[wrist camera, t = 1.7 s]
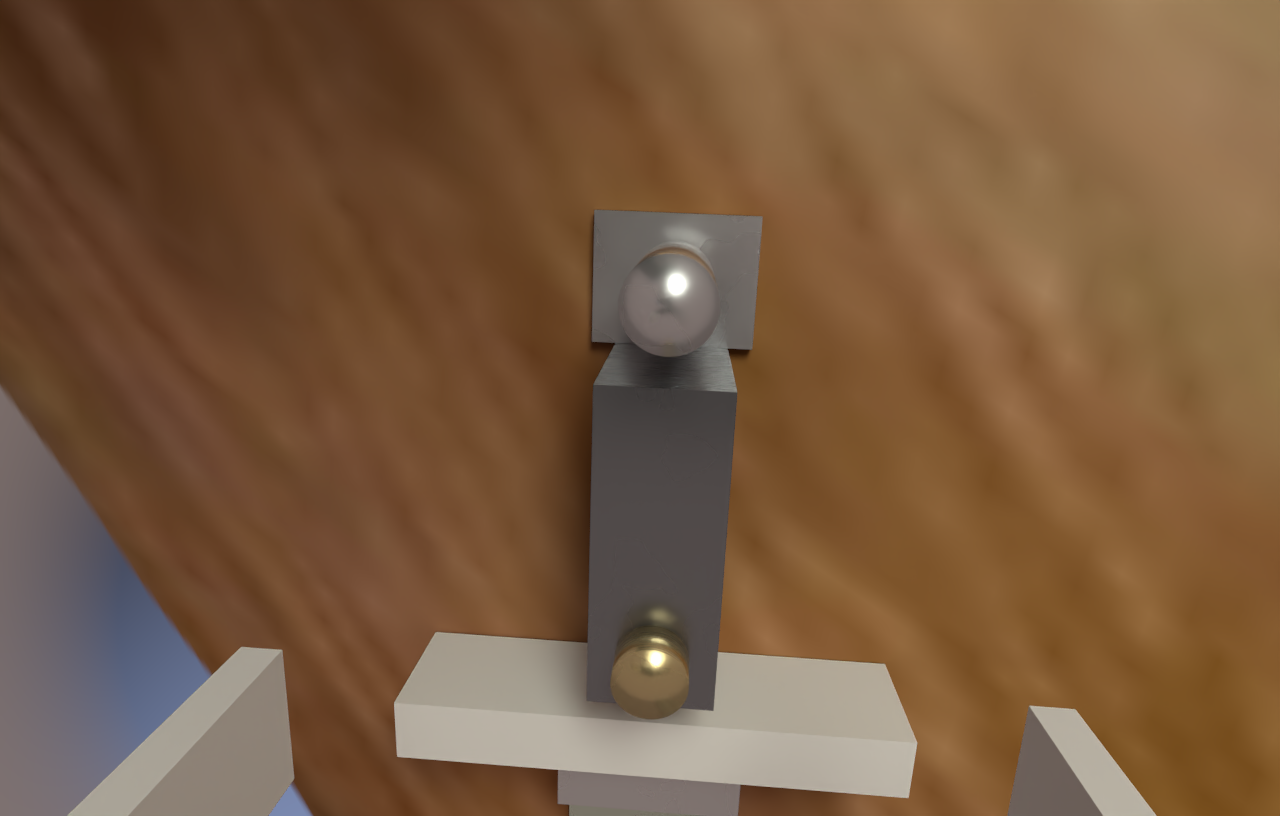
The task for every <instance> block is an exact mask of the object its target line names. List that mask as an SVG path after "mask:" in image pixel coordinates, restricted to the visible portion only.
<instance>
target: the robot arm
mask: <svg viewBox="0 0 1280 816" xmlns="http://www.w3.org/2000/svg"><path fill="white" fill-rule="evenodd" d="M293 780H294V770H293V759H292V749H291V738H290V727H289V716H288V706H287V695H286V684H285V673H284V662H283V652H282V650H276V649H262V648H249V647H241V648H240V649H239V650H238V651H237V652H236V653H234V654H233V655H232V656H231V657H230V658H229V659H228V660H227V661H226V662H225V663H224V664H223V665H222V666H221V667H220V668H219V669H218V670H217V671H216V672H215V673H214V674H213V675H212V676H211V677H210V678H209V679H208V680H207V681H206V682H205V683H204V684H203V685H201V686H200V687H199V688H198V689H197V690H196V691H195V692H194V693H193V694H192V695H191V696H190V697H189V698H188V699H187V700H186V701H185V702H184V703H183V704H182V705H181V706H180V707H179V708H178V709H177V710H176V711H175V712H174V713H173V714H172V715H170V716H169V717H168V719H167V720H165V721H164V722H163V723H162V724H161V725H160V726H159V727H158V728H157V729H156V730H155V731H154V732H153V733H152V734H151V735H150V736H149V737H148V738H147V739H146V740H145V741H144V742H143V743H142V744H141V745H140V746H138V747H137V749H135V750H134V751H133V752H132V753H131V754H130V755H129V756H128V757H127V758H126V759H125V760H124V761H123V762H122V763H121V764H120V765H119V766H118V767H117V768H116V769H115V770H114V771H113V772H112V773H111V774H110V775H109V776H108V777H107V778H105V779H104V780H103V781H102V782H101V783H100V784H99V785H98V786H97V787H96V788H95V789H94V790H93V791H92V792H91V793H90V794H89V795H88V796H87V797H86V798H85V799H84V800H83V801H82V802H81V803H80V804H79V805H78V806H77V807H76V808H75V809H74V810H72V811H71V812H70V813H69V814H68V816H268V815H269V814H270V813H271V811H272V810H273V808H274V807H275V805H276V804H277V803H278V801H279V800H280V798H281V797H282V795H283V794H284V793H285V791H286V790H287V788H288V787H289V785H290V784H291V783H292V781H293ZM1008 816H1156V815H1155V813H1154V812H1153V811H1152V809H1151V808H1150V807H1149V805H1148V804H1147V803H1146V801H1145V800H1144V799H1143V798H1142V796H1141V795H1140V794H1139V792H1138V791H1137V790H1136V788H1135V787H1134V786H1133V784H1132V783H1131V782H1130V780H1129V779H1128V778H1127V777H1126V775H1125V774H1124V773H1123V771H1122V770H1121V769H1120V767H1119V766H1118V765H1117V763H1116V762H1115V761H1114V759H1113V758H1112V757H1111V756H1110V754H1109V753H1108V752H1107V750H1106V749H1105V748H1104V746H1103V745H1102V744H1101V742H1100V741H1099V740H1098V738H1097V737H1096V736H1095V735H1094V733H1093V732H1092V731H1091V729H1090V728H1089V727H1088V725H1087V724H1086V723H1085V721H1084V720H1083V719H1082V717H1081V716H1080V715H1079V713H1078V712H1077V711H1076V710H1075V709H1065V708H1052V707H1038V706H1029V709H1028V714H1027V719H1026V724H1025V729H1024V734H1023V739H1022V744H1021V750H1020V755H1019V760H1018V765H1017V770H1016V775H1015V780H1014V785H1013V790H1012V795H1011V801H1010V806H1009V811H1008Z"/></svg>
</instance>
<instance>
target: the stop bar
mask: <svg viewBox="0 0 1280 816" xmlns="http://www.w3.org/2000/svg"><path fill="white" fill-rule="evenodd" d="M736 403H737V389H736V384H735V379H734V375H733V370H732V366H731V361H730V357H729V352H728V348H709V347H699V348H697V349H696V350H694V351H692V352H690V353H688V354H685V355H681V356H675V357H663V356H658V355H654V354H651V353H649V352H646V351H645V350H643V349H641V348H640V347H638V346H637V345H636V344H628V343H615V345H614V347H613V349H612V351H611V352H610V354H609V356H608V358H607V360H606V362H605V364H604V365H603V367H602V369H601V371H600V373H599V375H598V377H597V378H596V380H595V382H594V384H593V417H592V463H591V510H590V556H589V603H588V649H587V696H586V701H591V702H604V703H617V704H618V705H619V706H620V707H621V708H622V709H623V710H624V711H626V712H627V713H629V714H631V715H633V716H635V717H638V718H642V719H660V718H664V717H667V716H669V715H672V714H673V713H675V712H676V711H677V710H679V709H680V708H682V709H695V710H708V711H714V698H715V685H716V671H717V658H718V644H719V631H720V618H721V604H722V591H723V577H724V564H725V550H726V537H727V524H728V510H729V497H730V483H731V470H732V457H733V443H734V430H735V416H736Z"/></svg>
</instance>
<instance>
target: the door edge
mask: <svg viewBox="0 0 1280 816" xmlns="http://www.w3.org/2000/svg"><path fill="white" fill-rule="evenodd" d="M587 649H588V643H582V642H568V641H554V640H540V639H526V638H512V637H498V636H484V635H470V634H456V633H442V632H436V633H435V634H434V636H433V638H432V639H431V641H430V643H429V644H428V646H427V648H426V650H425V651H424V653H423V655H422V656H421V658H420V660H419V661H418V663H417V665H416V666H415V668H414V670H413V672H412V673H411V675H410V677H409V678H408V680H407V682H406V683H405V685H404V687H403V688H402V690H401V692H400V694H399V695H398V697H397V699H396V700H395V702H394V711H395V729H396V746H397V757H406V758H418V759H430V760H443V761H455V762H468V763H480V764H492V765H505V766H517V767H530V768H542V769H554V770H567V771H579V772H592V773H604V774H616V775H629V776H641V777H654V778H666V779H678V780H691V781H703V782H716V783H728V784H740V785H753V786H765V787H778V788H790V789H802V790H815V791H827V792H840V793H852V794H864V795H877V796H889V797H902V798H908V797H909V791H910V785H911V779H912V773H913V766H914V760H915V754H916V748H917V741H916V739H915V736H914V734H913V731H912V729H911V727H910V724H909V722H908V719H907V717H906V714H905V712H904V710H903V707H902V705H901V702H900V700H899V697H898V695H897V693H896V690H895V688H894V685H893V683H892V680H891V678H890V675H889V673H888V671H887V668H886V666H885V664H876V663H862V662H848V661H834V660H820V659H806V658H792V657H778V656H764V655H750V654H736V653H722V652H718V658H717V671H716V685H715V698H714V711H708V710H695V709H682V708H680V709H679V710H677V711H676V712H675V713H673V714H672V715H669V716H667V717H664V718H660V719H642V718H638V717H635V716H633V715H631V714H629V713H627V712H626V711H624V710H623V709H622V708H621V707H620V706H619V705H618V704H617V703H604V702H591V701H586V696H587Z"/></svg>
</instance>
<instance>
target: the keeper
mask: <svg viewBox="0 0 1280 816" xmlns="http://www.w3.org/2000/svg"><path fill="white" fill-rule="evenodd" d="M739 796H740V784H728V783H716V782H703V781H691V780H678V779H666V778H654V777H641V776H629V775H616V774H604V773H592V772H579V771H567V770H558V804H567V805H569V816H738V808H739Z"/></svg>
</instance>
